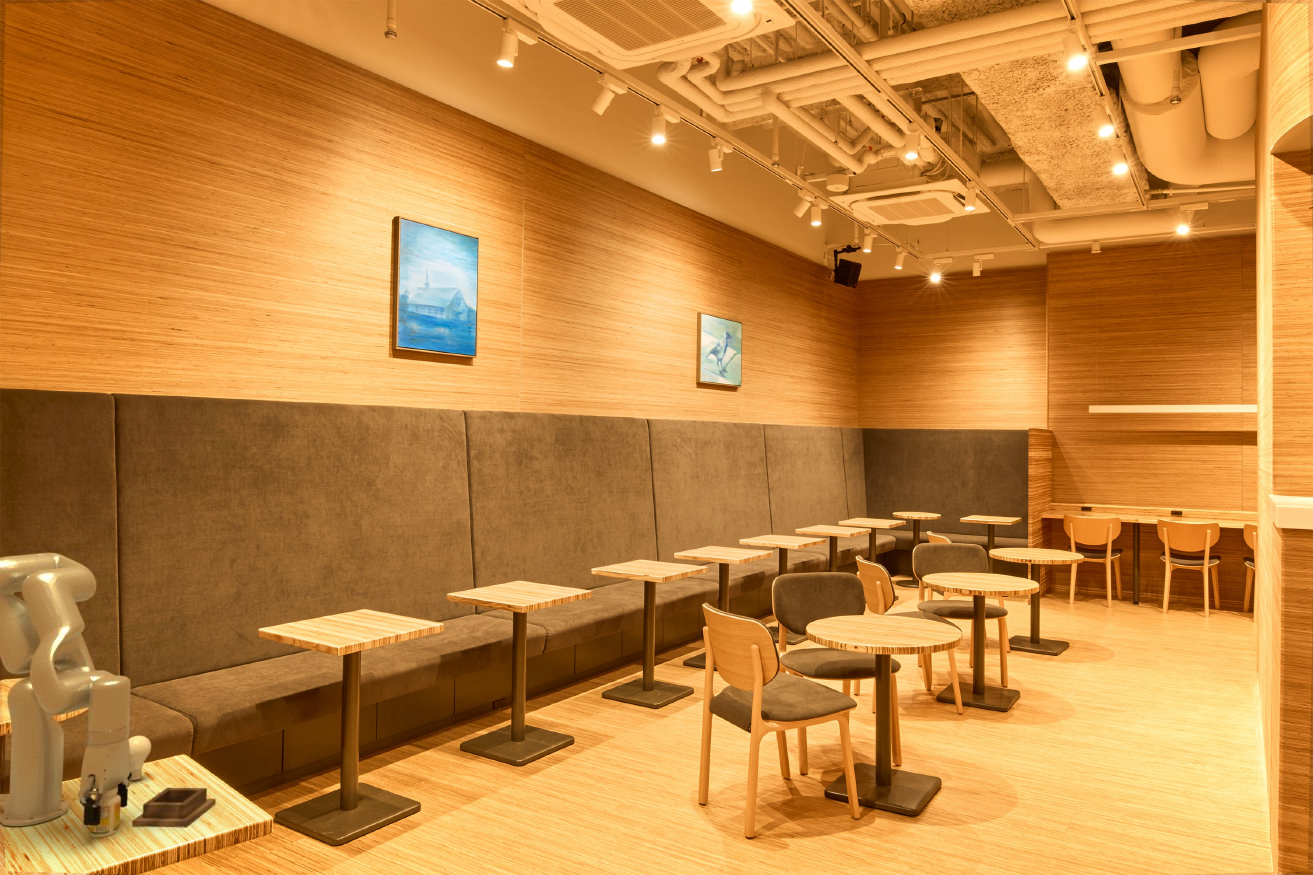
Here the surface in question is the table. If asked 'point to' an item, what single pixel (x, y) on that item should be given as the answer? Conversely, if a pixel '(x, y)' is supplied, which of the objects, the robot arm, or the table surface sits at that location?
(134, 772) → the lightbulb
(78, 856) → the table surface
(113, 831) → the supplement bottle
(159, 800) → the holder
